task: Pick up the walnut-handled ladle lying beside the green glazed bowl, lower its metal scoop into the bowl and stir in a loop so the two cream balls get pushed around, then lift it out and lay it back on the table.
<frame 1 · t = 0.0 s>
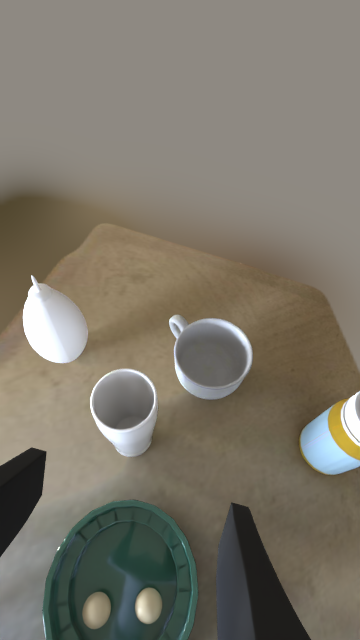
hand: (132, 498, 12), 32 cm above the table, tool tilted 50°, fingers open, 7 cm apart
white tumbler: (133, 437, 44), on the table
bowl: (125, 582, 35), on the table
bottle: (321, 448, 45), on the table
teacup: (200, 367, 51), on the table
ball a: (96, 609, 32), point 2 cm above the table, touching bowl
sauce bottle: (68, 352, 51), on the table
ball b: (148, 605, 33), point 2 cm above the table, touching bowl
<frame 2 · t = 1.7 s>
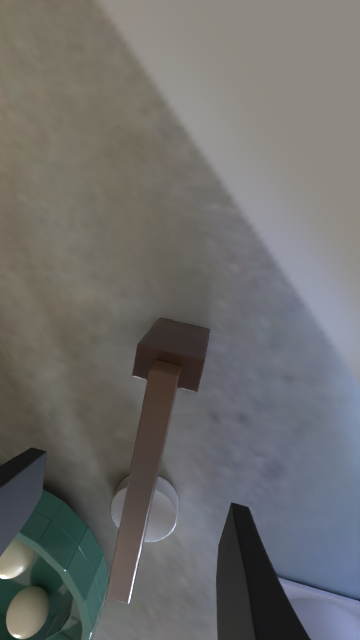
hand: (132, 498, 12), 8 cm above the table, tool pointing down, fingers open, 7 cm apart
bowl: (16, 551, 25), on the table
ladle: (147, 499, 22), on the table
ball a: (28, 611, 23), point 2 cm above the table, touching bowl
ball b: (13, 552, 22), point 2 cm above the table, touching bowl
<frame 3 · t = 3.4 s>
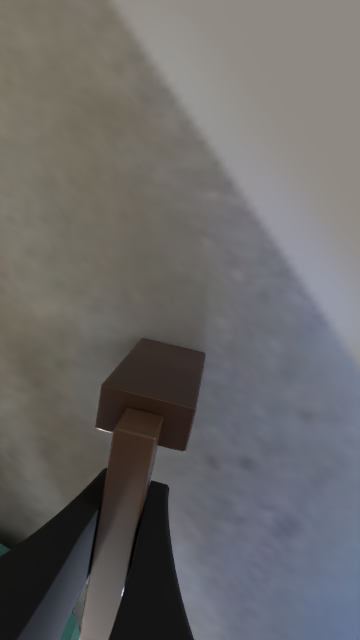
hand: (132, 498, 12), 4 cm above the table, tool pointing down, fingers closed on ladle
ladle: (129, 557, 18), on the table, touching gripper
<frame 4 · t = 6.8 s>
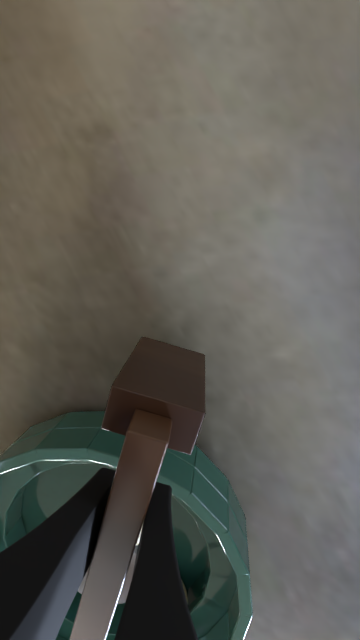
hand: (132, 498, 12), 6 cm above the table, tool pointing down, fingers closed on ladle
bowl: (117, 518, 19), on the table
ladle: (112, 551, 18), point 2 cm above the table, touching gripper
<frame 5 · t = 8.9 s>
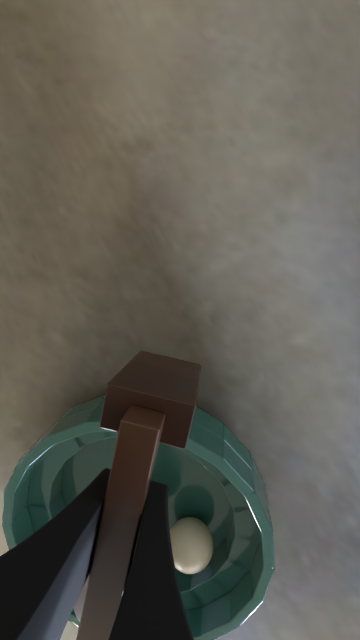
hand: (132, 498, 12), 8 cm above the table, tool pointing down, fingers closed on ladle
bowl: (147, 491, 21), on the table
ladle: (121, 584, 17), point 5 cm above the table, tilted 7°, touching gripper
ball a: (189, 544, 19), point 2 cm above the table, tilted 15°, touching bowl
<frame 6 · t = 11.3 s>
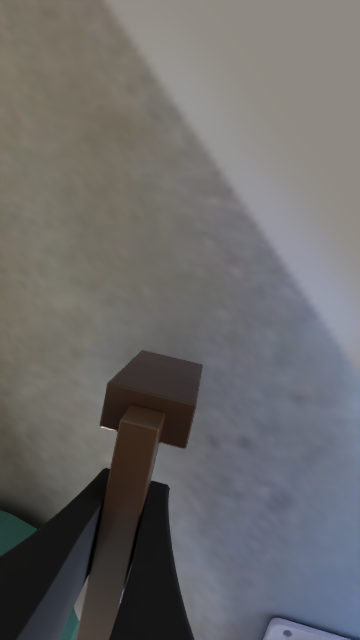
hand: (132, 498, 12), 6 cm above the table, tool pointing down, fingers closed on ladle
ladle: (122, 584, 17), point 3 cm above the table, tilted 7°, touching gripper
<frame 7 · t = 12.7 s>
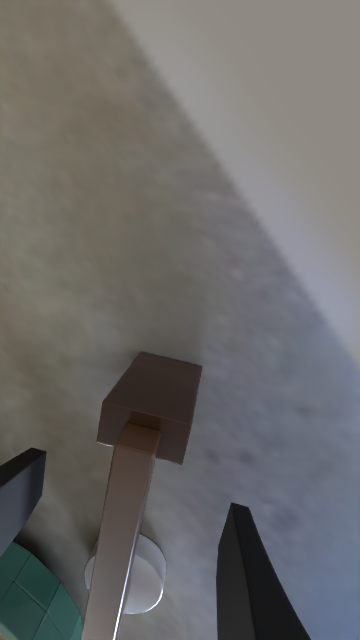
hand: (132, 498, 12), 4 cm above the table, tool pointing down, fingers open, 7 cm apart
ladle: (128, 561, 18), on the table
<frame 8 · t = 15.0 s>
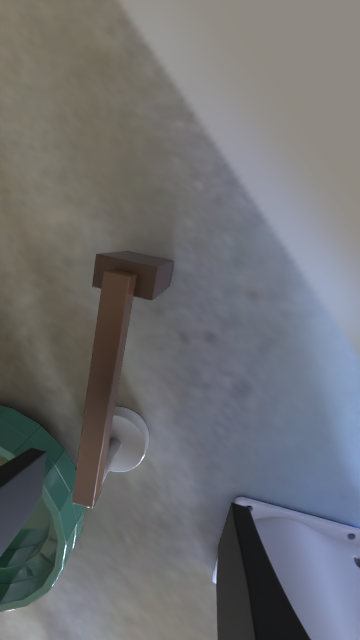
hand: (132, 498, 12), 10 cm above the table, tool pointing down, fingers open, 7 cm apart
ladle: (119, 433, 23), on the table
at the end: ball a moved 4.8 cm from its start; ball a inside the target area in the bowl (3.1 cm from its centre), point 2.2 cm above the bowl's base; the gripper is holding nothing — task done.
